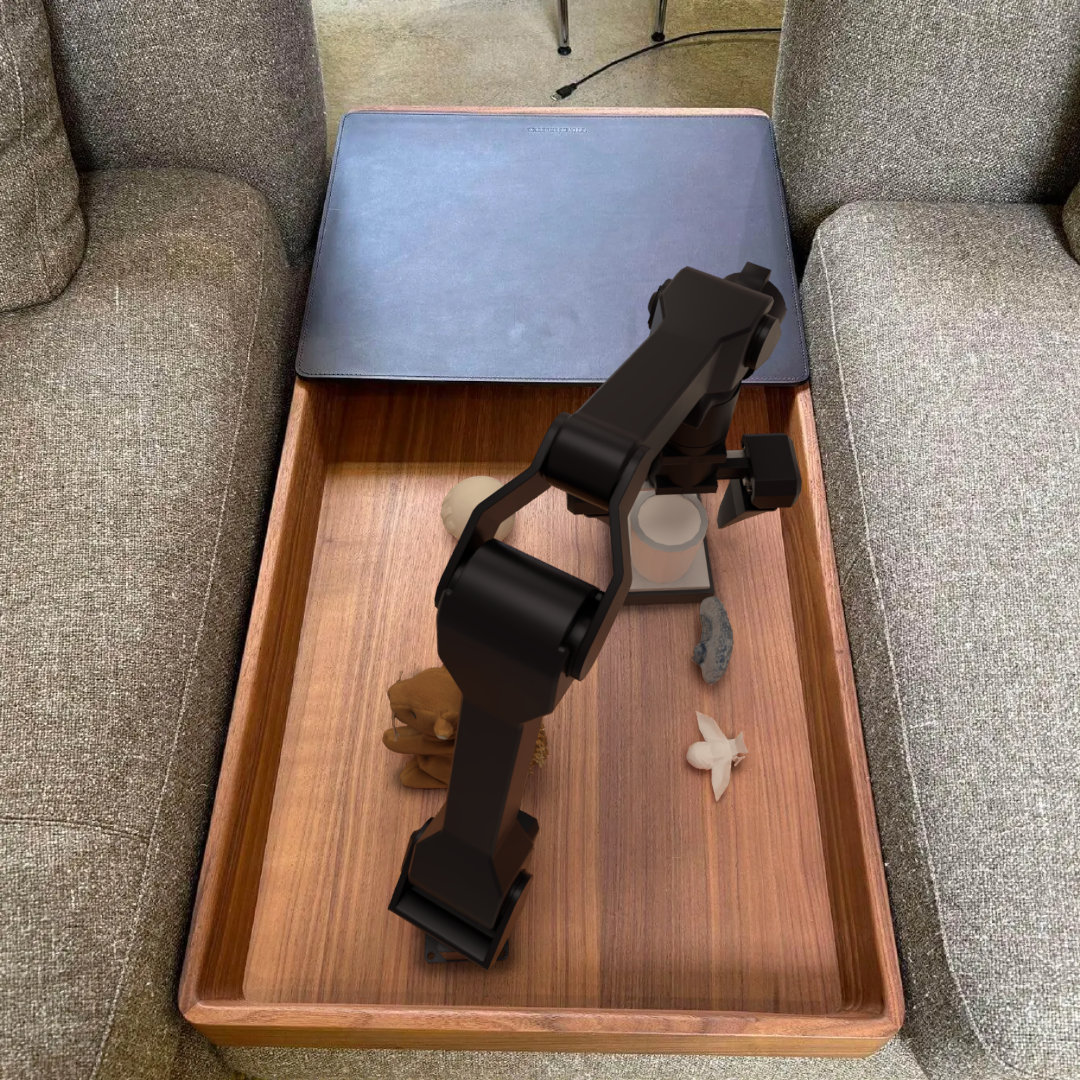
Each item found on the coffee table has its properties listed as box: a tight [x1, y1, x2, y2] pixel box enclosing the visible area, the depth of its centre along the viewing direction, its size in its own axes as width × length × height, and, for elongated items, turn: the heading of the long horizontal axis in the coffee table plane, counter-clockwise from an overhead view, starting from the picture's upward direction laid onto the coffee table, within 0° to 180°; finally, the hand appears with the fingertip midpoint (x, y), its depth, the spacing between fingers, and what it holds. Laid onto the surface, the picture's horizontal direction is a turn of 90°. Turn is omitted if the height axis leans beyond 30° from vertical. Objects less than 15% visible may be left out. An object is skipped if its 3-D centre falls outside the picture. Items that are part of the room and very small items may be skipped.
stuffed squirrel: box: [381, 663, 550, 789], centre depth 72 cm, size 10×14×13 cm
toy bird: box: [685, 710, 749, 803], centre depth 75 cm, size 8×5×5 cm, turn 7°
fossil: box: [691, 595, 735, 686], centre depth 80 cm, size 8×4×5 cm, turn 176°
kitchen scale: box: [622, 491, 716, 606], centre depth 88 cm, size 17×9×3 cm, turn 2°
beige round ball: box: [439, 475, 517, 542], centre depth 86 cm, size 7×7×7 cm
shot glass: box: [630, 491, 710, 584], centre depth 81 cm, size 7×7×7 cm
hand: (668, 526), depth 80 cm, fingers open, 9 cm apart
